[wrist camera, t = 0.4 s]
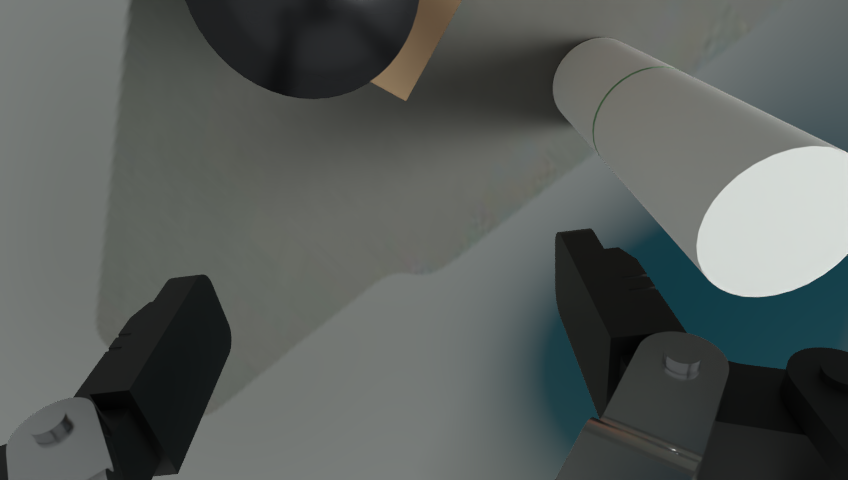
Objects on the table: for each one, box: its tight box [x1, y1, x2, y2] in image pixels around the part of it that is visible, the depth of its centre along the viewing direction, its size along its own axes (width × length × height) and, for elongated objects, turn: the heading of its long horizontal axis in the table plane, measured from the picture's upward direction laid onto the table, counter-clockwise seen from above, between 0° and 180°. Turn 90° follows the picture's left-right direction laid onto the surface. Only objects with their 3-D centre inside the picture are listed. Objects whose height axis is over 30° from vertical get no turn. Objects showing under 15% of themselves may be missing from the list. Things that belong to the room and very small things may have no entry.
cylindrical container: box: [553, 37, 848, 297], centre depth 33 cm, size 7×7×25 cm
